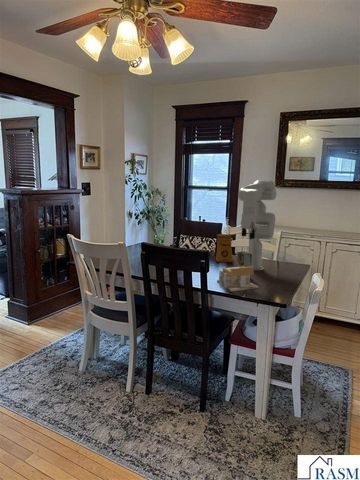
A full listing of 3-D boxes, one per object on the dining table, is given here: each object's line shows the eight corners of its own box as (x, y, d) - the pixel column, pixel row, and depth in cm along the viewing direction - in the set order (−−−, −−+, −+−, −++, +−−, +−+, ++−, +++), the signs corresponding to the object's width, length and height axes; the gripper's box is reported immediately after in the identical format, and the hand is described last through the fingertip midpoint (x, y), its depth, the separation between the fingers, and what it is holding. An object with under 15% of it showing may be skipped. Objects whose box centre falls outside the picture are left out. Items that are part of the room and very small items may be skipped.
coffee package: (232, 263, 254) (233, 235, 249) (215, 262, 255) (216, 234, 251) (231, 260, 263) (232, 233, 259) (216, 259, 265) (216, 232, 261)
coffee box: (251, 277, 217) (252, 254, 214) (243, 278, 215) (244, 254, 212) (243, 274, 225) (244, 251, 223) (235, 275, 223) (236, 251, 220)
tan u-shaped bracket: (222, 270, 204) (222, 263, 203) (242, 268, 208) (243, 262, 208) (232, 276, 192) (232, 269, 191) (253, 274, 197) (253, 267, 196)
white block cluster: (216, 281, 208) (217, 267, 206) (242, 279, 214) (242, 265, 212) (231, 291, 190) (231, 275, 188) (258, 288, 196) (259, 273, 194)
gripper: (236, 209, 211) (235, 235, 214) (251, 212, 195) (250, 240, 198) (247, 208, 213) (246, 234, 217) (262, 211, 197) (260, 239, 201)
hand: (247, 237), depth 208 cm, fingers open, 9 cm apart
